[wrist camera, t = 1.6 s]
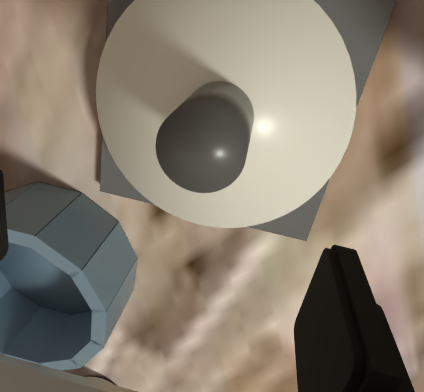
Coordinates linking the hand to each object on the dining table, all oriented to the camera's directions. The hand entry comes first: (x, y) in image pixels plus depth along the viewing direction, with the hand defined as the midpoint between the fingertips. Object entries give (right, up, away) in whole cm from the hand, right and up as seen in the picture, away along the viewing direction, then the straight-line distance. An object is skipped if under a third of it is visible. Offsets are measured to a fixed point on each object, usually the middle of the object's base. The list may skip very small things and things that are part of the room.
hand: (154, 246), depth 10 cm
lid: (+2, +7, +12) cm, 14 cm away
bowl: (-11, -4, +20) cm, 23 cm away
